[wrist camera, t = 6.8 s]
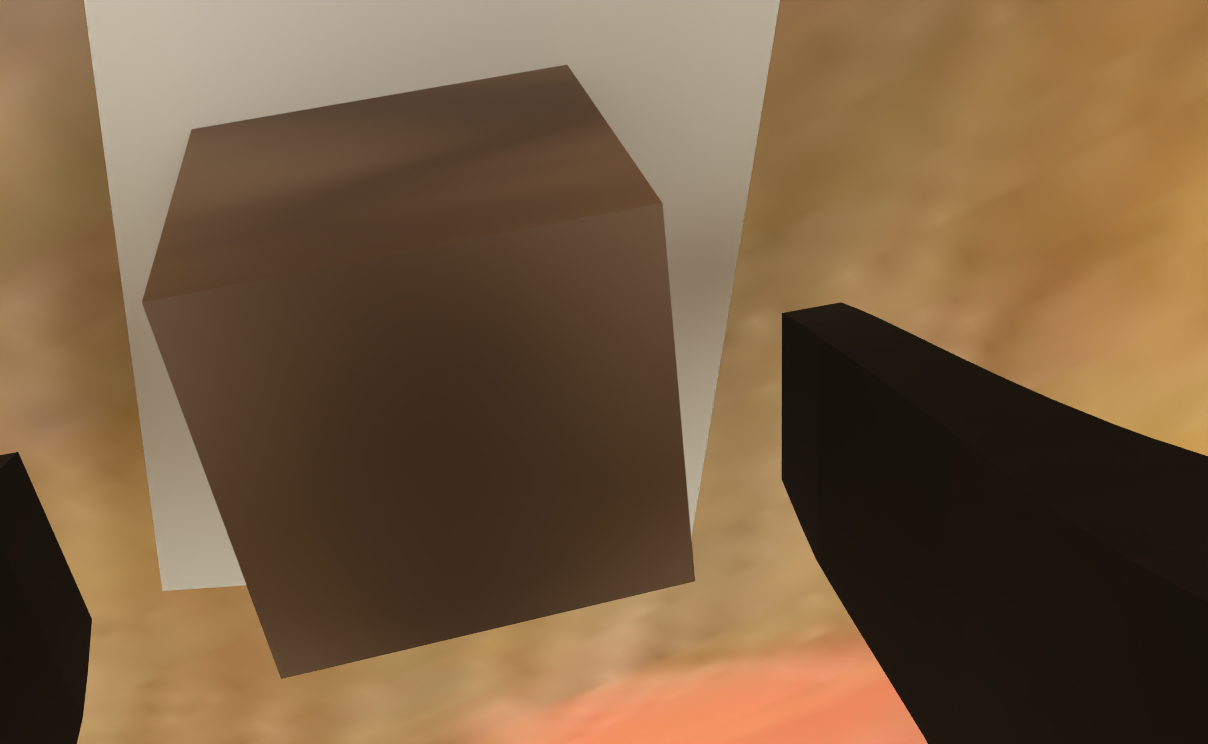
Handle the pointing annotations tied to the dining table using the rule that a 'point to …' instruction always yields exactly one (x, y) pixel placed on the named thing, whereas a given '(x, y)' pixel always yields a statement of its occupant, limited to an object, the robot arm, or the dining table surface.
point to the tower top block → (403, 64)
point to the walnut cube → (426, 363)
